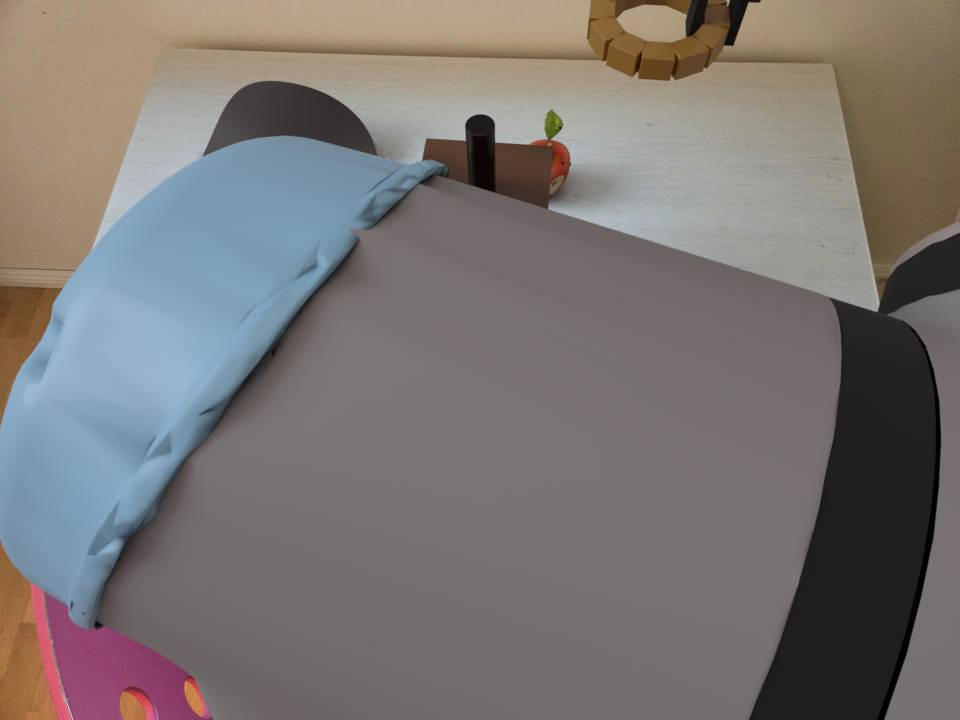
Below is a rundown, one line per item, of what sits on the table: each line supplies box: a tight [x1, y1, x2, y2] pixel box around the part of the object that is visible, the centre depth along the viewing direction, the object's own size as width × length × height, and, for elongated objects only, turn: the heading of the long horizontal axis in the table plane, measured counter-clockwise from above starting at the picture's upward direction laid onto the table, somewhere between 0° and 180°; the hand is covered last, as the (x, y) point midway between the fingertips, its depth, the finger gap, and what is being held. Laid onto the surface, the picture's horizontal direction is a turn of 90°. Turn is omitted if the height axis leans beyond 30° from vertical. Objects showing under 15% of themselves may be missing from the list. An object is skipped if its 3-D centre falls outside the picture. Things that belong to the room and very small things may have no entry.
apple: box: [528, 109, 572, 198], centre depth 86 cm, size 8×7×10 cm
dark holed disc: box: [202, 80, 379, 157], centre depth 87 cm, size 25×20×10 cm
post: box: [464, 113, 496, 193], centre depth 59 cm, size 2×2×8 cm
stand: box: [421, 137, 553, 209], centre depth 72 cm, size 12×12×22 cm
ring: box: [586, 0, 730, 82], centre depth 56 cm, size 11×11×2 cm
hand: (709, 33), depth 56 cm, fingers closed on ring, 2 cm apart
